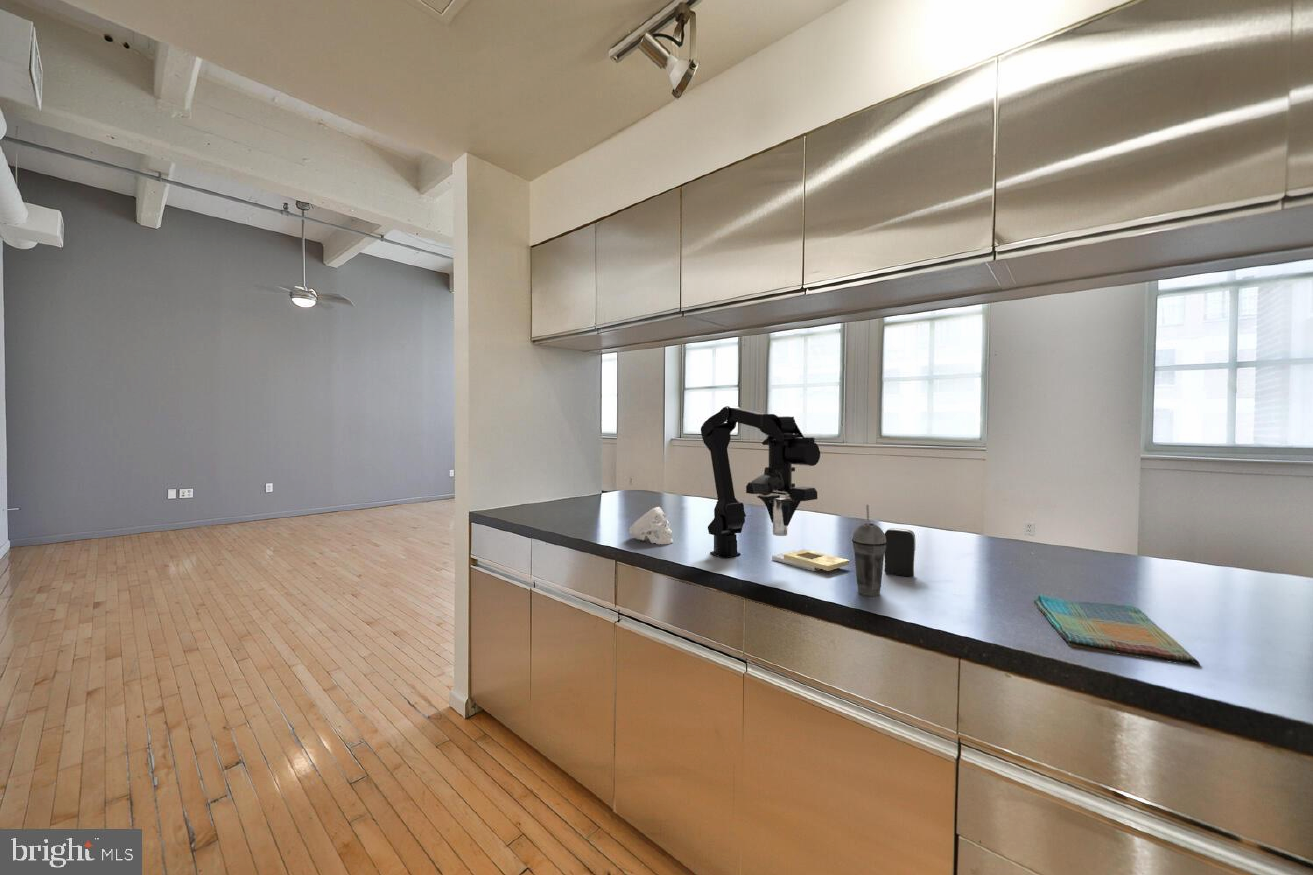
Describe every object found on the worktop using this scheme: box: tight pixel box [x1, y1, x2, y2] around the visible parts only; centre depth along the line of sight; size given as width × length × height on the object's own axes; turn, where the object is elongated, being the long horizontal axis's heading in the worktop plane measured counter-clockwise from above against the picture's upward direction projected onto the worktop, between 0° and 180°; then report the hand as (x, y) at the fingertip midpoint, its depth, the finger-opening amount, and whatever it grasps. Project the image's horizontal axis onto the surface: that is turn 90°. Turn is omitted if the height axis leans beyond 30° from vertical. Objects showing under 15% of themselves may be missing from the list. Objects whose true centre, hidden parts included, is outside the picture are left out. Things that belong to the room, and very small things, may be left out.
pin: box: [772, 497, 788, 537], centre depth 127 cm, size 4×4×9 cm
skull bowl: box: [629, 506, 674, 545], centre depth 163 cm, size 10×14×12 cm
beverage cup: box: [851, 504, 887, 597], centre depth 112 cm, size 7×7×20 cm
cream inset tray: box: [771, 548, 850, 573], centre depth 135 cm, size 18×9×2 cm, turn 36°
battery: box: [883, 527, 916, 578], centre depth 126 cm, size 7×4×11 cm, turn 55°
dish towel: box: [1033, 594, 1201, 667], centre depth 92 cm, size 17×23×2 cm
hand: (780, 524), depth 127 cm, fingers closed on pin, 4 cm apart
